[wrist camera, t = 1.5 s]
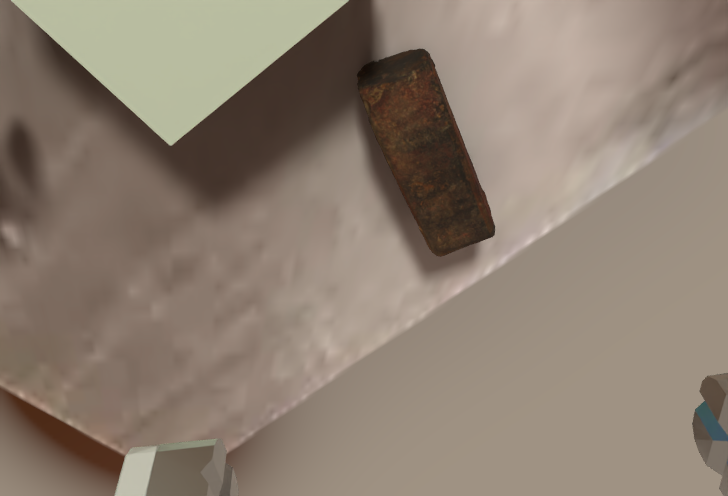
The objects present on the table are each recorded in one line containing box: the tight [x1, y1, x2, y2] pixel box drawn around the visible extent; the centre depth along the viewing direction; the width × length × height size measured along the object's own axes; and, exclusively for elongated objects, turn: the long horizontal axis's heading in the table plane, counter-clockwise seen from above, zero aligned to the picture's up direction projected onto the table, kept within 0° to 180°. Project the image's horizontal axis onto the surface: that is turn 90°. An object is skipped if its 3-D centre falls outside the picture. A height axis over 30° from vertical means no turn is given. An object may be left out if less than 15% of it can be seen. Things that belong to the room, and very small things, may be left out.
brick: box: [357, 49, 495, 257], centre depth 37 cm, size 11×4×5 cm, turn 24°
